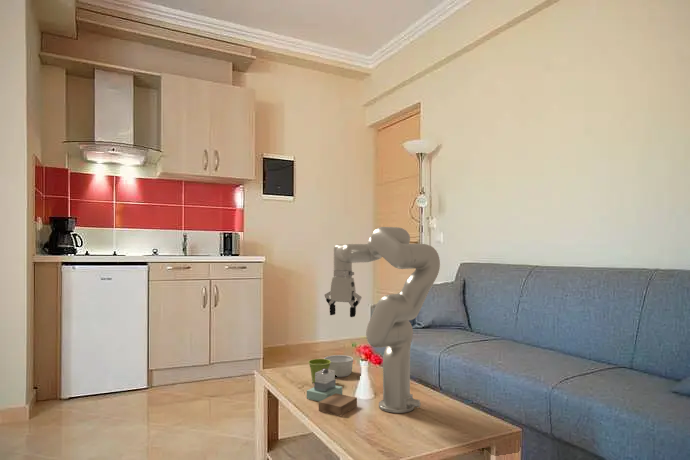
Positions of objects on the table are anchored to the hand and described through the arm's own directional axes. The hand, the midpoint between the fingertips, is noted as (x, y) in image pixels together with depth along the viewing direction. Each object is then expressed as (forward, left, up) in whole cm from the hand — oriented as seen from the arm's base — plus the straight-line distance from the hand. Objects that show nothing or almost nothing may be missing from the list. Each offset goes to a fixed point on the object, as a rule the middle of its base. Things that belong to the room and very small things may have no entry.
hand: (342, 315), depth 191 cm
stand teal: (-2, +16, -28) cm, 33 cm away
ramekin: (+10, -13, -29) cm, 33 cm away
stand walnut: (-13, +24, -28) cm, 39 cm away
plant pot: (+10, +2, -29) cm, 30 cm away
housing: (-2, +16, -25) cm, 30 cm away
